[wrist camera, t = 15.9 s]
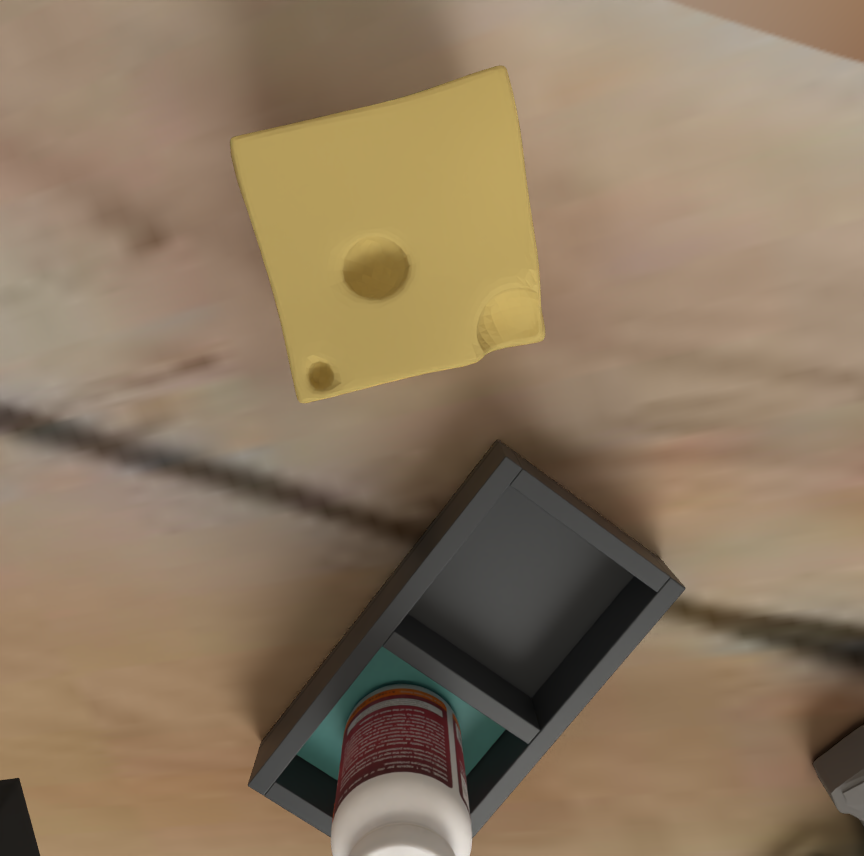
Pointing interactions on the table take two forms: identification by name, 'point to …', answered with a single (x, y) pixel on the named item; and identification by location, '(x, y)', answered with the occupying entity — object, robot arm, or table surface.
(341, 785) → the pill bottle
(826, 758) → the revolver
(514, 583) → the box
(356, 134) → the cheese
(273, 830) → the table surface
